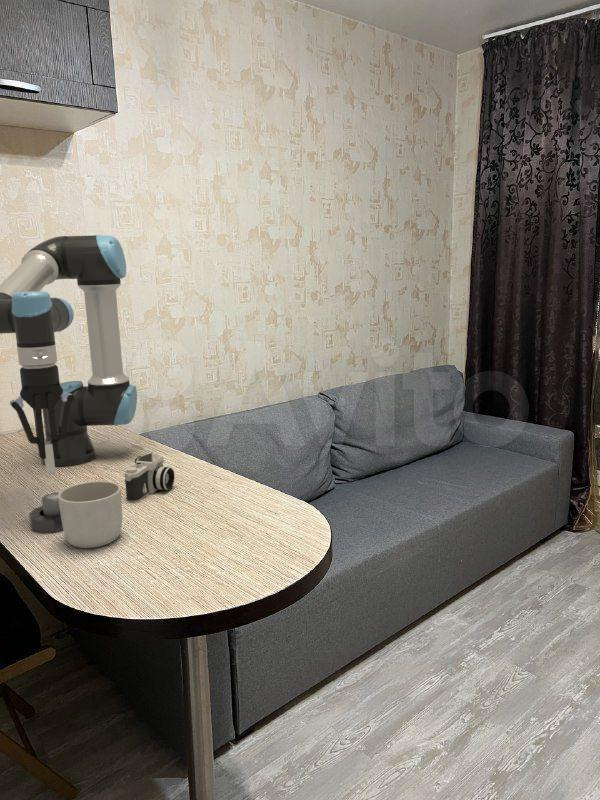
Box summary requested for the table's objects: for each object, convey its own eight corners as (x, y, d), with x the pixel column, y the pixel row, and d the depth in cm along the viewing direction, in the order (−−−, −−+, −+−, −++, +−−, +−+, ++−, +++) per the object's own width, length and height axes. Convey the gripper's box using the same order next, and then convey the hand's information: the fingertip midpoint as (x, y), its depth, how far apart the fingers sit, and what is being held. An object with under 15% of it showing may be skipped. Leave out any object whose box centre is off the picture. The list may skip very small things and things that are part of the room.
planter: (76, 527, 137) (71, 480, 134) (132, 527, 136) (128, 480, 134) (53, 553, 124) (47, 502, 122) (114, 553, 124) (109, 502, 122)
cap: (42, 520, 140) (39, 495, 138) (65, 515, 142) (63, 490, 141) (47, 528, 135) (44, 502, 134) (70, 523, 138) (68, 497, 137)
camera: (153, 505, 148) (150, 465, 146) (120, 502, 150) (117, 463, 148) (181, 482, 163) (179, 446, 161) (151, 480, 166) (148, 444, 163)
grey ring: (27, 520, 141) (26, 508, 140) (75, 510, 146) (74, 498, 145) (35, 537, 132) (34, 524, 131) (86, 525, 137) (85, 513, 137)
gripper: (7, 371, 125) (21, 482, 130) (74, 364, 131) (85, 470, 136) (2, 366, 131) (16, 472, 136) (66, 360, 138) (77, 461, 143)
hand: (50, 471), depth 136 cm, fingers closed
